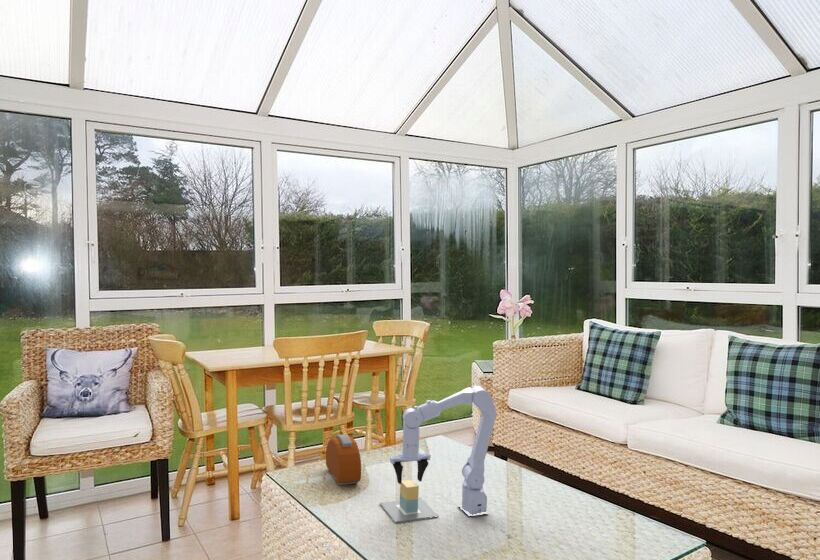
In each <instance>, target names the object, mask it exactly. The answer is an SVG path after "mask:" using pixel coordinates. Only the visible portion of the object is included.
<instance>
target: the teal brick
mask: <svg viewBox="0 0 820 560" xmlns="http://www.w3.org/2000/svg"><path fill="white" fill-rule="evenodd" d="M399 500H400V507H401V508H402V509H403V510H404V511H405V513H412V512H418V499H414V500H406V499H405V498H404V497H403V496H402V495H401V494H400V493H399Z"/></svg>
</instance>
